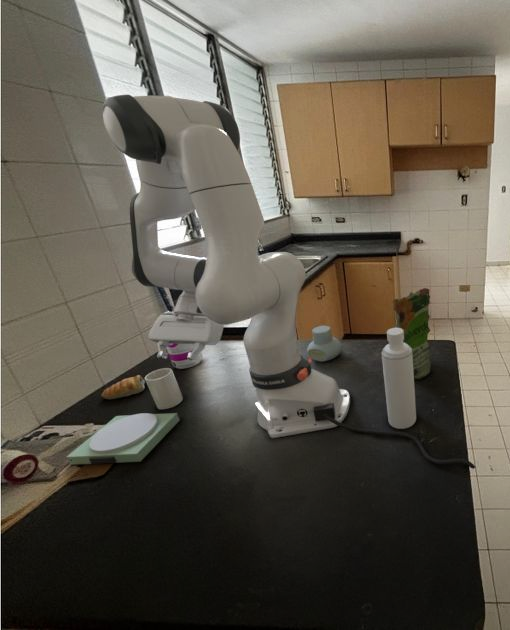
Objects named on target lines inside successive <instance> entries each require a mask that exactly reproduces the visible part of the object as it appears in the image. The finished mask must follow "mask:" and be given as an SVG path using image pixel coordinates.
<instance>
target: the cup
mask: <svg viewBox="0 0 510 630" xmlns="http://www.w3.org/2000/svg"><path fill="white" fill-rule="evenodd" d="M144 381H145V384H146V385H147V387H148V390H149V392H150V395H151V397H152V399H153V401H154V404H155V406H156V408H157V409H158V410H168V409H172V408H174V407H176V406H177V405H180V403H181V402H182V401H183V400H184V396H183V394H182V391H181V388H180V387H179V384H178V381H177V379H176V376H175V374H174V370H173V369H172V368H169V367H164V368H159V369H156V370H153V371H151V372H149V373H148V374H146V375H145V377H144Z"/></svg>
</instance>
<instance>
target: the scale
mask: <svg viewBox="0 0 510 630" xmlns="http://www.w3.org/2000/svg"><path fill="white" fill-rule="evenodd" d="M180 420H181V419H180V417H179V414H178V412H174V413H173V412H170V413H148V412H143V413H136V414H130V415H129V414H128V415H116V416H114V417H113V418H112V419H111V420H110V421H108V422H107V423H106V424H105V425H103V426H102V427H101V428H100V429H98V430H97V431H96V432H94V433H93V434H92V435H91V436H90V437H89V438H87V439H86V440H85V441H84V442H83V443H81V444H80V445H79V446H77V447H76V448H75V449H74V450H72V451H71V452H70V453H69V454H68V455H67V456H65V458H66V460H67V461H68V460H72V461H68V463H69V465H71V466H72V465H93V464H95V465H97V464H115V463H138V462H139V463H140V462H142V461H143V459H145V457H147V456H148V455H149V454H150V453H151V451H152V450H153V449H155V447H156V446H157V445H158V444H159V443H160V442H161V441H162V440H163V439H164V437H165V436H166V435H167V434H168V433H169V432H170V431H171V430H172V429H173V428H174V427H175V426H176V425H177V424H178V423H179V422H180Z"/></svg>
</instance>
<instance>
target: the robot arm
mask: <svg viewBox="0 0 510 630" xmlns="http://www.w3.org/2000/svg"><path fill="white" fill-rule="evenodd" d="M102 117H103V119H102V120H103V125H104V128H105V131H106V133H107V134H108V137H109V138H110V140H111V141H112V143H113V144H114V145H115V147H116V149H118V151H119V152H120V153H122V154H124V155H125V156H127V157H128V158H130V159H132V160H135V163H136V164H135V165H136V169H137V173H138V178H139V182H140V190H139V191H138V192H135V193H134V194H133V196H132V197H131V199H130V202H129V223H130V233H131V246H132V259H131V273H132V275H133V276H134V278H135V279H136V280H137V281H138V282H139V283H140V284H141V285H142V286H144V287H151V288H165V289H172V290H177V291H182V292H181V294H179V296H178V298H177V301H176V303H175V306H174V309H173V311H169V310H168V311H164V312H163V313H161V314H160V315H159V316H158V317H157V319H156V320H155V321H154V323H153V325H152V326H151V329H150V331H149V332H148V335H147V337H148V340H149V341H152V342H154V343H157V351H158V352H157V355H156V357H157V358H158V359H165V360H166V359H167V358H168V356H169V353H168V351H167V348H166V347H168V345H169V343H175V344H195V345H194V346H195V348H194V350H193V351H192V352H189V353H188V356H187V359H190V360H196V359H197V356H198V354H199V353H200V352H201V353H202V352H203V351H204V349H205V347H206V346H217V345H218V344H219V343H220V341H221V339H222V335H223V332H224V326H228V325H232V324H236V323H237V324H238V323H240V322H243V321H247V320H250V321H249V324H248V326H247V327H246V330H245V332H244V335H243V346H244V349H245V353H246V357H247V360H248V364H249V369H248V370H249V371H248V372H249V374H250V379H251V382H252V385H253V387H254V388H255V393H256V399H257V402H255V406H256V407H257V418H256V420H257V423H258V425H259V427H261V428H262V429H264V430H266V431H267V434H268V436H269V437H270V438H271V439H277V438H281V437H282V438H283V437H287V436H294V435H300V434H304V433H305V434H306V433H311V432H316V431H322V430H327V429H328V430H329V429H333V428H336V427H340V428H343V429H345V430H349V431H352V432H356V433H363V434H372V435H380V436H381V435H382V436H399V437H404V438H408V439H410V440H412V441H413V442H414V443H415V444H416V445H417V447H418V448H419V450H420V452H421V454H422V455H423V457H424V458H425V459H426V460H428V461H429V462H430V463H432V464H435V465H451V464H464V465H466V466H468V467H469V468H470V469H473V470H475V469H476V465H475V464H474V463H472V462H471V461H470V460H468V459H465V458H459V457H458V458H449V459H436V458H435V457H433V456H432V455H430V454H428V452H427V451H426V449H425V448H424V446H423V444H422V442H421V441H420V439H419V438H418V437H416V436H415V435H413V434H411V433H408V432H405V431H404V432H403V431H392V430H389V431H388V430H381V429H380V430H379V429H367V428H360V427H356V426H351V425H347V424H345V423H342V422H343V421H344V420H345V418H346V417H347V415H348V413H349V411H350V406H351V396H350V393H349V391H348V390H347V389H344V388H340V387H339V385H338V382H337V381H336V380H335V378H333V377H332V376H329V375H327V374H325V373H322V372H321V371H318V370H316V369H313V368H312V367H311V364H312V363H313V362H312V360H313V359H312V358H311V357H309V358H308V360H307V359H305V358H304V356H303V355H302V354H301V352H300V346H299V341H298V335H297V325H296V323H297V322H296V321H297V309H298V301H299V296H300V293H301V290H302V287H303V286H304V284H305V282H306V270H305V266H304V264H303V262H302V261H301V260H300V258H298V257H297V256H296V255H294V254H293V253H290V252H287V251H275V252H274V251H272V252H266V253H262V254H260V255H259V247H258V246H259V240H260V235H261V234H262V233H263V230H264V228H265V219H264V216H263V213H262V210H261V207H260V204H259V201H258V198H257V196H256V192H255V189H254V187H253V184H252V180H251V177H250V176H249V173H248V170H247V168H246V165H245V163H244V161H243V159H242V157H241V155H240V153H239V151H238V150H239V148H240V146H241V145H240V144H241V134H240V129H239V126H238V123H237V121H236V119H235V117H234V116H233V115H232V113H231V111H230V110H229V109H228V108H226V107H225V106H223V105H222V104H219V103H215V102H213V101H207V100H204V101H199V100H194V99H189V98H180V97H173V96H170V95H136V96H133V95H132V94H118V95H113V96H109V97H107V98H106V99H105V101H104V103H103V105H102ZM194 211H195V213H196V215H197V217H198V220H199V223H200V226H201V229H202V232H203V235H204V240H205V250H206V253H205V254H206V255H205V256H206V257H198V256H193V255H187V254H186V255H185V254H179V253H173V252H168V251H166V250H163V249H162V248H161V247H159V235H158V222H161V221H169V220H176V219H179V218H180V219H181V218H183V217H186V216H188V215H190V214H192V213H193V212H194Z"/></svg>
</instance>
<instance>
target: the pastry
mask: <svg viewBox="0 0 510 630" xmlns="http://www.w3.org/2000/svg"><path fill="white" fill-rule="evenodd" d="M145 384H146V381H145V378H143V377H142V376H141V375H140V374H137V375H136V376H132V377H127V378H124V379H122V380H120V381H118V382H116V383H114V384H112V385H110V386H108V387H107V388H105V389H104V390H103V392H102V393H101V394H100V396H101V397H102V398H103V399H106V400H116V399H120V398H124V397H125V398H126V397H129V396H131V395H137V394H140V393H141V392H143V391H144V390H145Z"/></svg>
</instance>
